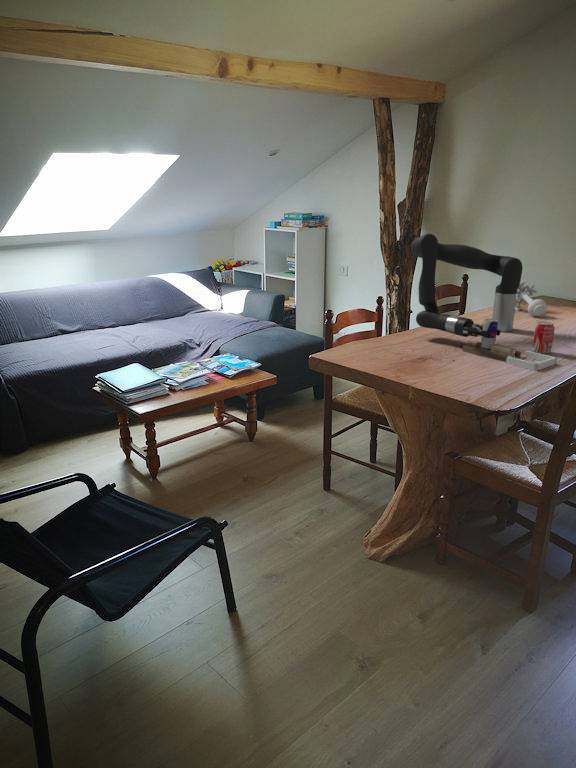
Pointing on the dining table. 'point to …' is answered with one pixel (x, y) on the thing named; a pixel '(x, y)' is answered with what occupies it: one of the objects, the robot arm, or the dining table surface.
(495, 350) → the tan cube
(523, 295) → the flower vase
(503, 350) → the chip
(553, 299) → the dining table surface
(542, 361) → the tray
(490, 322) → the energy drink
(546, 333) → the soda can
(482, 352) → the slot rails
